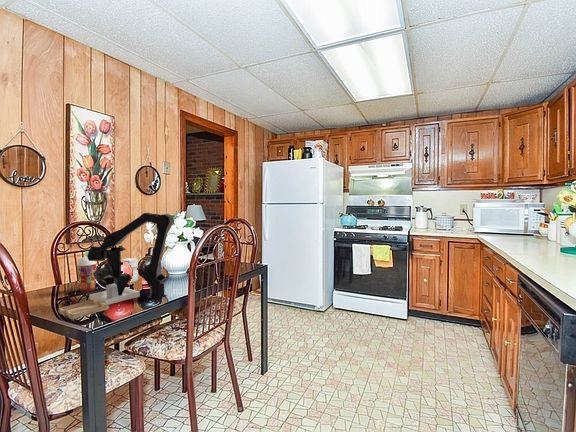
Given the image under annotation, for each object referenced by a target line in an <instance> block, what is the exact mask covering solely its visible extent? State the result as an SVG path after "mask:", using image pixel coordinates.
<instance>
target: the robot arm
mask: <svg viewBox="0 0 576 432" xmlns="http://www.w3.org/2000/svg"><path fill="white" fill-rule="evenodd" d="M174 222H175V219H174V216H172V215H171V214H169V213H165V214H164V213H163V214H158V213H151V212H143V213H142V214H141V215H140V216H138V217H137V218H135V219H134V220H132V221H131V222H130V223H128V224H126V225H125V226H124V227H122V228H120V229H118V230H116V231H113V232H111V233H109V234H107V235H105V237H103V242H102V243H101V245H100V246H97V245H92V246H90V247H89V250H88V251H87V257H88V260H89V261H95V262H104V261H105V260H106V262H105V263H104V265H103V266H104V267H101V268H99V269H96V271H95V272H93V275H94V277H95V279H96V280H98V281H103V282H104V284H105V286H106V285H110V284H114V283H115V284H116V285H117V290H118V295H119V296H121V295H122V293H123V291H124V289H125V288H127V287H126V286H127V285H128V284H129V283H128V282H129V280H131V275H130V274H127V273H124V274H122V273H123V271H121V265H123V262H121V260H122V257H121V255H122V254H121V252H124V251H126V248H125V247H123V245H121V244H122V243H123V242H124V241H125V240H126V238H127V237H128V236H129V235H130V234H132V233H133V232H134V233H135V231H136V230H138V229H140V228H141V227H143V226H144V225H146V224H147V223H152V224H156V232H157V233H156V236H155V237H156V238H155V242H154V246H153V250H152V254H151V259H150V262H149V263H148V264H146V265H144V267H143V268H144V269H143V270H144V271H143V272H142V275H143V279H144V280H145V282H146V283H147V285H148V287H149V292H150V293H149V295H148V296H147V298H148V299H152V300H159V299H161V298H162V299H163V298H166V297H168V295H167V294H165V282H166V279H167V277H166V276H165V275H164V274H163V273H162V257H163V254H164V253H163V252H164V249H165V244H166V241H167V237H168V233H169V232H170V230H171V229H172V227H173V224H174ZM116 246H117V247H116Z"/></svg>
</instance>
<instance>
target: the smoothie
mask: <svg viewBox="0 0 576 432" xmlns="http://www.w3.org/2000/svg"><path fill="white" fill-rule="evenodd" d="M87 254H88V250H86V251H85V256H83V257H82V258H79V260H78V262H77V264H76V269H77V277H78V278H77V279H78V287H79V290H80V292H82V293H83V292H84V293H85V292H87V293H88V292H92V291H94V290H95V288H96V283H97V281H96V282H95V277H94V275H93V272H95V271H97V261H89V260H88V257H87Z"/></svg>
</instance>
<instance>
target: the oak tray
mask: <svg viewBox="0 0 576 432" xmlns="http://www.w3.org/2000/svg"><path fill="white" fill-rule="evenodd" d="M107 310H110V304H109V305H107V304H104V303H101V302H99V301H96V300H91V299H89V300H86V301H82V302H78V303H73V304H70V305H65V306H62V307H58V314H60V315H62V316H63V317H67V318H69V319H70V320H72V321H73V320H77V319H80V318H82V317H85V316H88V315H92V314H96V313H99V312H100V313H101V312H103V311H107Z"/></svg>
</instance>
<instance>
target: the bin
mask: <svg viewBox="0 0 576 432" xmlns="http://www.w3.org/2000/svg"><path fill="white" fill-rule="evenodd" d="M88 296H89V300H96V301H99V302H101V303H104V304H107V305H109V306H110V305H112V304H116V303H120V302H124V301H128V300H131V299H135V298H139V297H140V291H138V290H135V289H132V288H128V287H125V289H124V291H123V296H119V297H115V298H111V299H108V298H107V291H106V290H104V291H98V292H94V293H90V294H89V295H88Z"/></svg>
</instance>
